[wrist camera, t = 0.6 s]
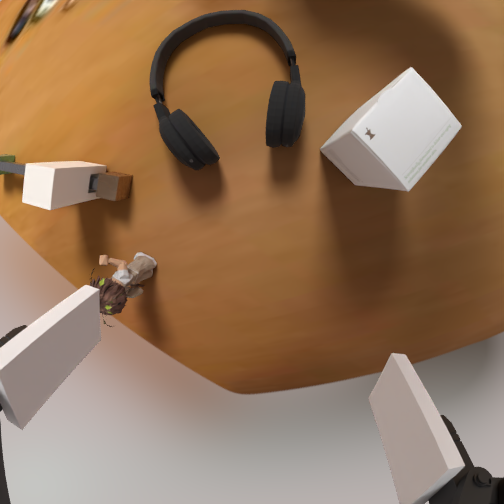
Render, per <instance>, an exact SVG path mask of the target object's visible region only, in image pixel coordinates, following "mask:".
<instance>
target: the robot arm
mask: <svg viewBox="0 0 504 504" xmlns="http://www.w3.org/2000/svg"><path fill="white" fill-rule="evenodd" d="M100 341H101V330H100V302H99V289H97V288H94V287H91V286H88V285H85V286H83V287H82V288H80V289H79V290H77V291H76V292H75V293H73V294H72V295H70V296H69V297H68V298H66V299H65V300H63V301H62V302H60V303H59V304H58V305H56V306H55V307H53V308H52V309H51V310H50V311H48V312H47V313H46V314H44V315H43V316H41V317H40V318H39V319H37V320H36V321H35V322H33V323H32V324H30V325H29V326H26V325H23V326H20V327H18V328H15V329H13V330H12V331H10V332H9V333H8V334H6V336H5V337H2V338H1V339H0V411H1V410H2V409H3V411H4V413H5V416H6V418H7V420H9V421H10V422H11V423H13V424H14V425H16V426H17V427H19V428H20V429H23V428H24V427H25V426H26V425H27V423H28V422H29V421H30V420H31V418H32V417H33V416H34V415H35V414H36V413H37V411H38V410H39V409H40V408H41V407H42V406H43V404H44V403H45V402H46V401H47V400H48V399H49V397H50V396H51V395H52V394H53V393H54V392H55V390H56V389H57V388H58V387H59V386H60V385H61V384H62V382H63V381H64V380H65V379H66V378H67V377H68V375H70V373H71V372H72V371H73V370H74V369H75V368H76V366H77V365H79V363H80V362H81V361H82V360H83V359H84V358H85V357H86V356H87V355H88V354H89V352H90V351H91V350H92V349H93V348H94V347H95V346H96V345H97V344H98V342H100ZM368 399H369V402H370V405H371V408H372V411H373V414H374V417H375V421H376V424H377V427H378V429H379V433H380V436H381V440H382V443H383V446H384V449H385V453H386V456H387V460H388V463H389V466H390V470H391V473H392V477H393V481H394V484H395V488H396V492H397V496H398V499H399V503H400V504H425V503H426V502H427V501H429V504H504V478H493V477H492V475H491V474H490V473H489V472H488V471H487V470H486V469H484V468H481V467H474V465H473V463H472V461H471V459H470V457H469V455H468V454H467V451H466V449H465V448H464V445H463V444H462V442H461V441H460V438H459V436H458V434H456V430H455V428H454V427H453V425H452V423H451V422H450V421H449V420H448V419H447V418H446V417H445V416H444V415H440V414H439V412H438V411H437V409H436V407H435V405H434V403H433V401H432V400H431V398H430V396H429V394H428V392H427V391H426V389H425V387H424V385H423V384H422V382H421V380H420V378H419V377H418V375H417V373H416V372H415V370H414V368H413V366H412V365H411V363H410V361H409V360H408V358H407V356H406V355H405V354H397V353H391V355H390V357H389V359H388V361H387V363H386V365H385V367H384V369H383V371H382V373H381V375H380V377H379V379H378V381H377V383H376V385H375V387H374V388H373V390H372V392H371V394H370V396H369V397H368ZM0 504H11V503H10V498H9V493H8V488H7V482H6V477H5V470H4V462H3V453H2V442H1V424H0Z"/></svg>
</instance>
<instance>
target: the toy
mask: <svg viewBox="0 0 504 504" xmlns="http://www.w3.org/2000/svg"><path fill="white" fill-rule="evenodd" d="M134 259H135V260H134V261H133V262H131V263H130V264H129V265H128V264H127V263H126V261H123V260H118V259H114V258H109V259H108V255H100V260H99V264H101V265H108V262H109V264H111V265H113V266H115V267H117V268H118V271H116V272H115V273H114V275H113V276H112V278H106V279H105V280H104V279H103V277H102V278H101V280H100V278H99V276H98V278H97V281H96V282H95V279H93V280H92V283H91V281H90V286H91V287H94V288H97V289H99V302H100V313H102V314H105V315H114V314H116V313H121V311H122V309H123V308H124V306H125V303H126V301H127V299H126V298H127V297H129V298H134V297H136V296H139V295H141V294H142V293H143V290H142V289H141V288H139V287H143V286H144V285H141V284H138V283H139V282H140V281H142V280H144V279H147V278H150V277H152V274H153V268H155V266H156V264H157V263H156V261H155V260H154V258H152V257H150V256H148V255H146V254H144V253H142V252H140V253H137V254H136V255H135V257H134ZM93 270H94V269H93ZM92 272H93V271H92ZM91 275H92V274H91ZM89 279H90V278H89ZM104 322H105V321H104ZM104 324H105V323H104Z"/></svg>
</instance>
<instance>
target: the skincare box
mask: <svg viewBox="0 0 504 504" xmlns="http://www.w3.org/2000/svg"><path fill="white" fill-rule="evenodd" d="M461 127H462V125H461V124H460V123H459V121H458V120H457V119H456V118H455V116H454V115H453V114H452V113H451V111H450V110H449V109H448V107H447V106H446V105H445V104H444V103H443V101H442V100H441V99H440V98H439V97H438V95H437V94H436V93H435V92H434V91H433V90H432V88H431V87H430V86H429V85H428V84H427V83H426V82H425V81H424V80H423V78H422V77H421V76H420V75H419V74H418V73H417V72H416V71H415V70H414V69H413V68H412V67H410V68H409V69H407V70H406V71H404V72H403V73H402V74H401V75H399V76H398V77H397V78H396V79H394V80H393V81H392V82H391V83H390V84H388V85H387V86H386V87H385V88H383V89H382V90H381V91H380V92H378V93H377V94H376V95H375V96H373V97H372V98H371V99H370V100H368V101H367V102H366V103H365V104H364V105H362V106H361V107H360V108H359V109H357V110H356V111H355V112H354V113H353V114H352V115H351V116H350V117H349V118H348V119H347V120H346V121H345V122H344V123H343V124H342V125H341V126H340V127H339V128H338V129H337V130H336V132H335V133H334V134H333V135H332V136H331V137H330V138H329V139H328V140H327V141H326V143H325V144H324V145H323V146H322V147H321V148H320V151H321V152H322V153H323V154H324V155H325V156H326V157H327V158H328V159H329V160H330V161H331V162H332V163H333V164H334V165H335V166H336V167H337V168H338V169H339V170H340V171H341V172H342V173H343V174H344V175H345V176H346V177H347V178H348V179H349V180H350V181H351V182H352V183H353V184H354V185H358V186H368V187H377V188H386V189H395V190H402V191H408V192H409V191H410V190H411V188H412V187H413V186H414V185H415V184H416V183H417V181H418V180H419V179H420V178H421V177H422V176H423V174H424V173H425V172H426V171H427V170H428V169H429V167H430V166H431V165H432V164H433V163H434V161H435V160H436V159H437V158H438V157H439V155H440V154H441V153H442V152H443V150H444V149H445V148H446V147H447V145H448V144H449V143H450V142H451V140H452V139H453V138H454V136H455V135H456V134H457V132H458V131H459V130H460V128H461Z"/></svg>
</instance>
